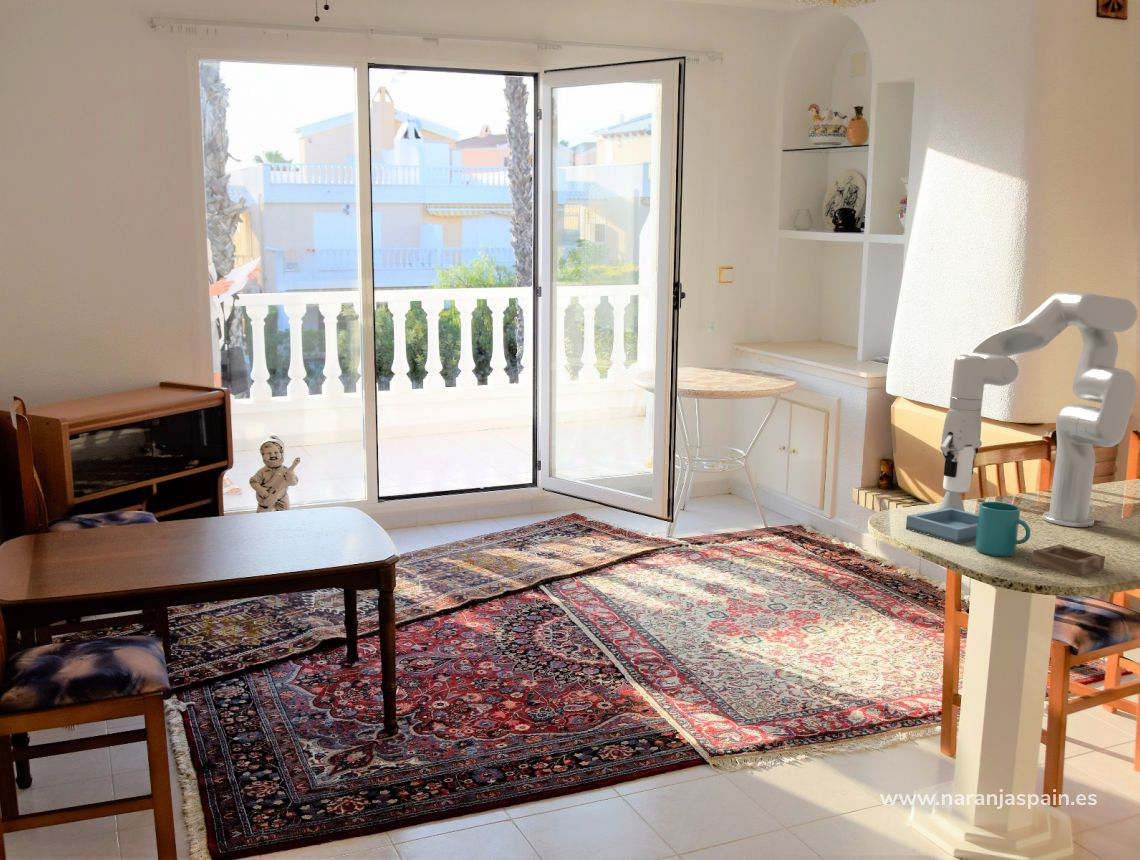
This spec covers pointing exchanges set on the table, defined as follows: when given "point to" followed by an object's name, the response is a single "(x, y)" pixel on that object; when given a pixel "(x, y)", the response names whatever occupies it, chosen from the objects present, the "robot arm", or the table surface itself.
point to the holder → (1068, 560)
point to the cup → (999, 529)
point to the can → (961, 472)
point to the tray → (945, 524)
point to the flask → (952, 501)
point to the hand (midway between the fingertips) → (958, 474)
